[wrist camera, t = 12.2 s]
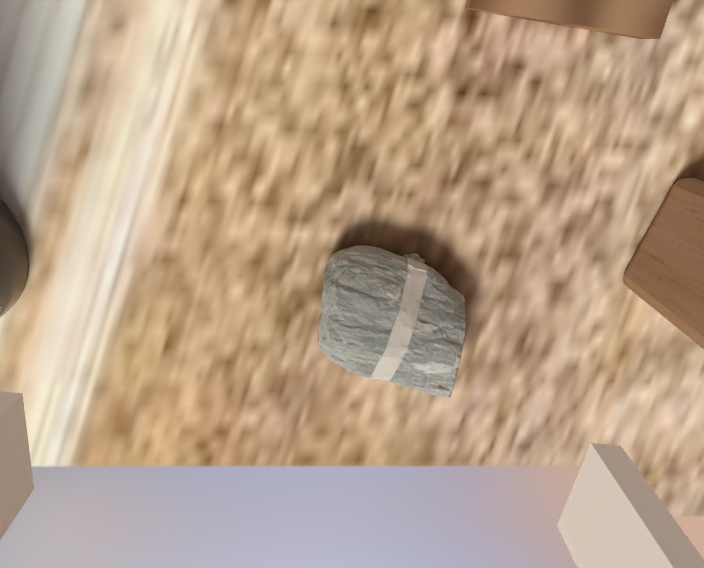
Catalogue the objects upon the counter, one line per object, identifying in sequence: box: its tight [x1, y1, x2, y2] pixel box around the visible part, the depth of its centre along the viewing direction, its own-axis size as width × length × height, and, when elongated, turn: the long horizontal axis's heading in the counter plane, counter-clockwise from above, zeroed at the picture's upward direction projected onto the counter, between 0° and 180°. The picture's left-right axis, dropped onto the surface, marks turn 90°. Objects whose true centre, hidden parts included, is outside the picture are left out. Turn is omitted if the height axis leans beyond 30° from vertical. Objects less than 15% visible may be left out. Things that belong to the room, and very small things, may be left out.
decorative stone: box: [318, 245, 466, 398], centre depth 44 cm, size 13×10×6 cm
